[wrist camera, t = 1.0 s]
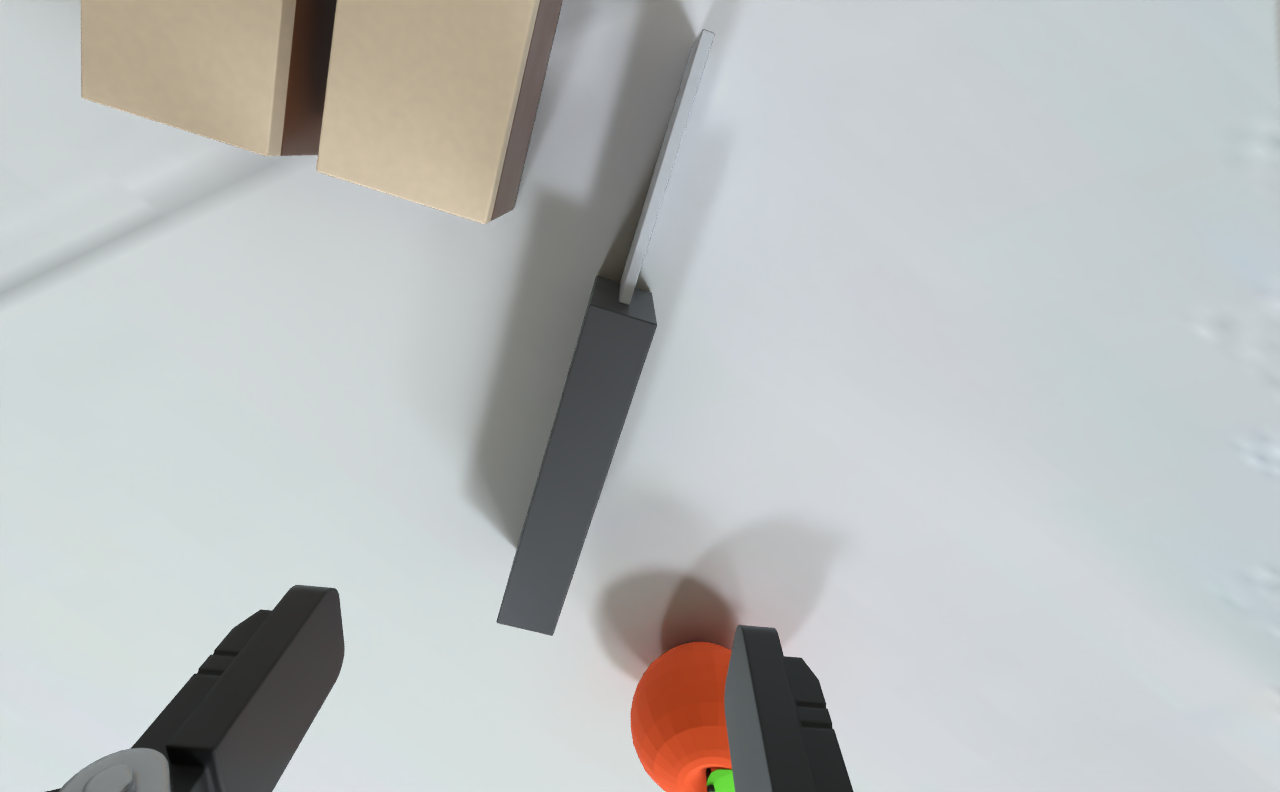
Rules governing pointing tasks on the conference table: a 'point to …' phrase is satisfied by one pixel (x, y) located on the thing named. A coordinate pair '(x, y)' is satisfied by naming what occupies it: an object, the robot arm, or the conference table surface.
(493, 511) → the conference table surface
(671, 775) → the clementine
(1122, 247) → the conference table surface
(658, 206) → the knife
